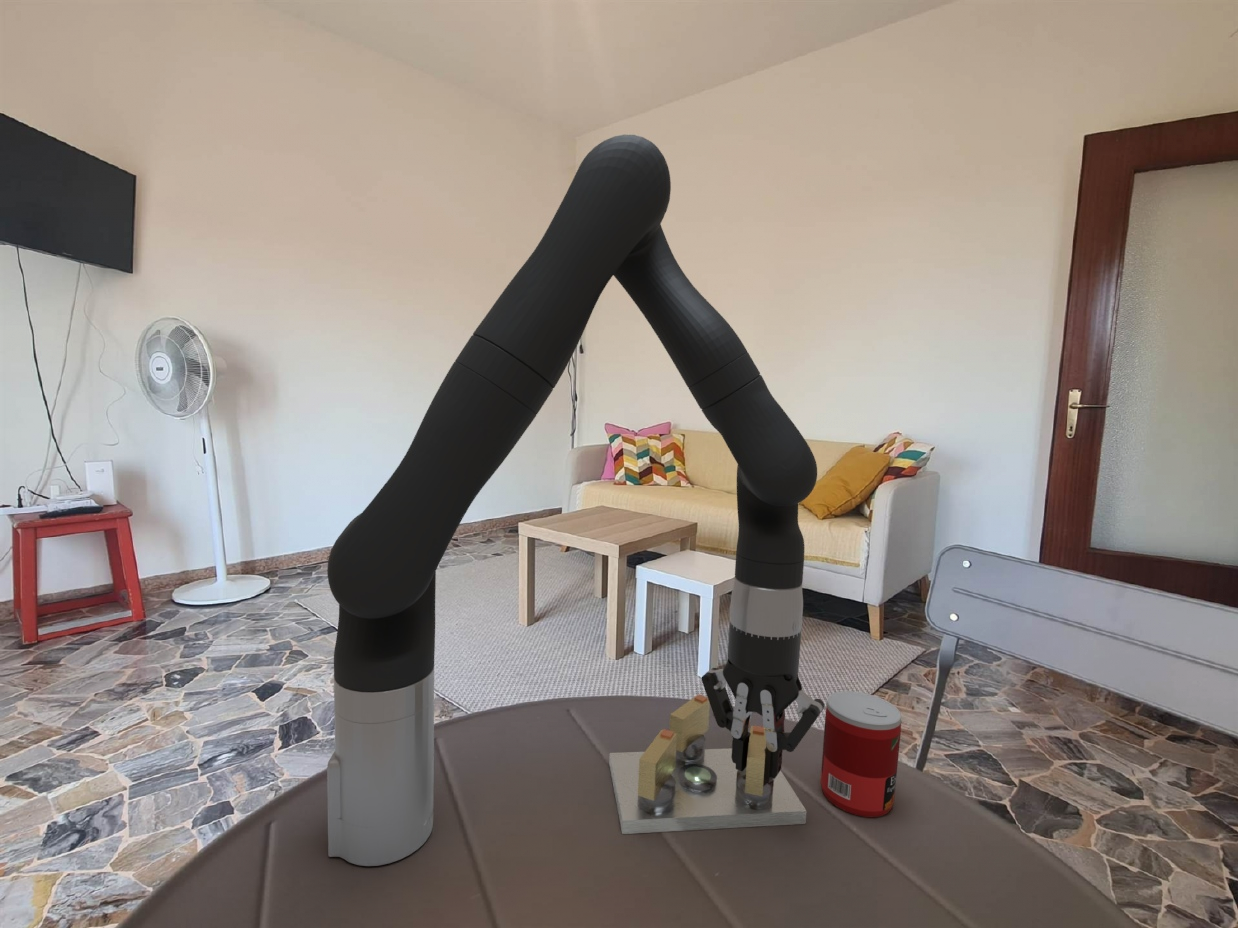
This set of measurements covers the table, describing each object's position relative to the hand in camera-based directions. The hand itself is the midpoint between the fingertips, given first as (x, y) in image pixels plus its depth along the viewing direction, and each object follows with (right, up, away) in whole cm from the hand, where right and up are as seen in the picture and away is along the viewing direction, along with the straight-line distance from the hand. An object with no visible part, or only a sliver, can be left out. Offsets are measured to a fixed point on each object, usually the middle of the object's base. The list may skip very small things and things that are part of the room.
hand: (755, 771), depth 66 cm
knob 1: (-11, -3, -1) cm, 11 cm away
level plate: (-6, -4, +3) cm, 8 cm away
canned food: (+13, -5, +4) cm, 14 cm away
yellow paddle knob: (-7, -2, +8) cm, 10 cm away
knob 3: (0, -3, 0) cm, 3 cm away
